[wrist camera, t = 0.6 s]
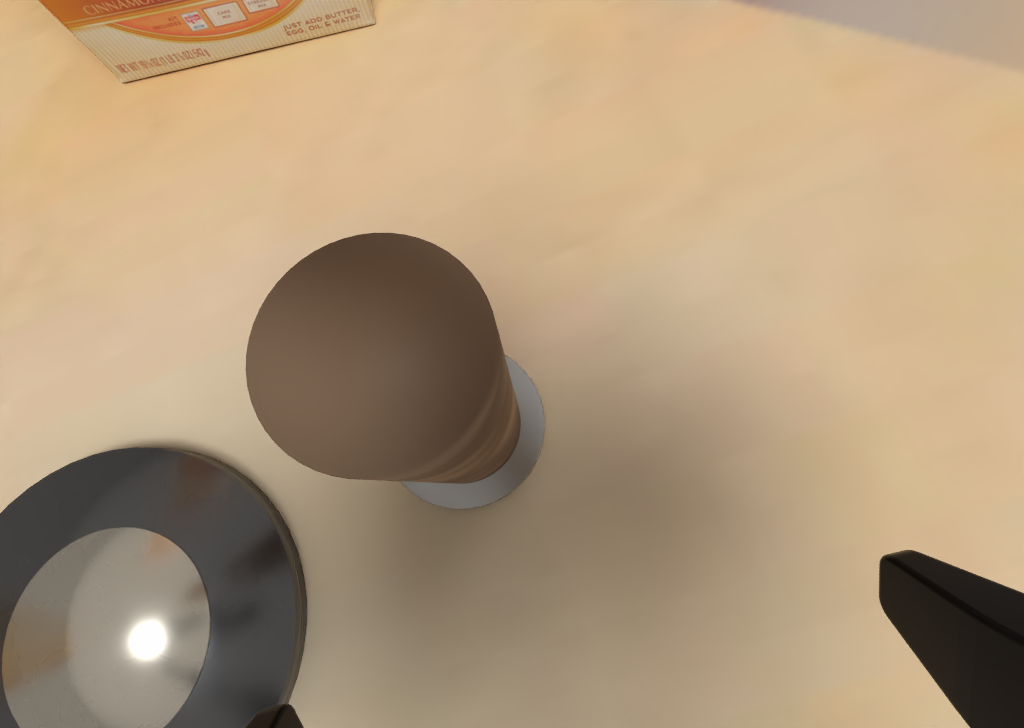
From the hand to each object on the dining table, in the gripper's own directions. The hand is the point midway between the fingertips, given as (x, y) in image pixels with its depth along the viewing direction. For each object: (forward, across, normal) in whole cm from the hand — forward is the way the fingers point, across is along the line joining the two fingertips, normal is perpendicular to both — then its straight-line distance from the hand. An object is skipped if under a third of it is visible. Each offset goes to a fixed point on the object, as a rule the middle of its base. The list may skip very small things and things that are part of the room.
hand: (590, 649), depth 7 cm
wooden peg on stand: (+15, +3, +3) cm, 15 cm away
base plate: (+12, +18, +7) cm, 23 cm away
